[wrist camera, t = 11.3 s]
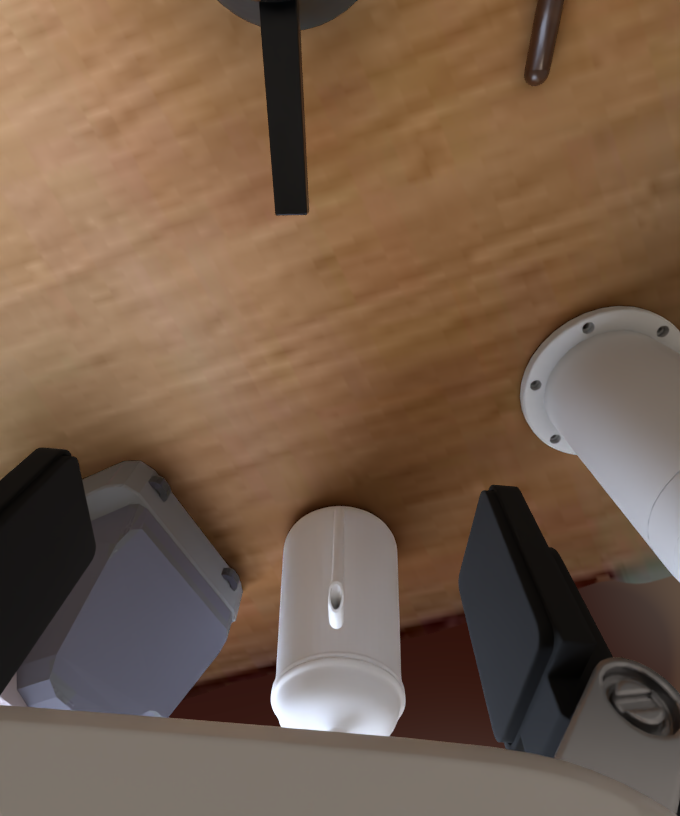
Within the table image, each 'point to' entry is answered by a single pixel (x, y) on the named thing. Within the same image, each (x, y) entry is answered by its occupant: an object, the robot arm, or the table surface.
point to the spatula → (543, 41)
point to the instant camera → (133, 607)
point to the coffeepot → (339, 625)
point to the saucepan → (286, 87)
